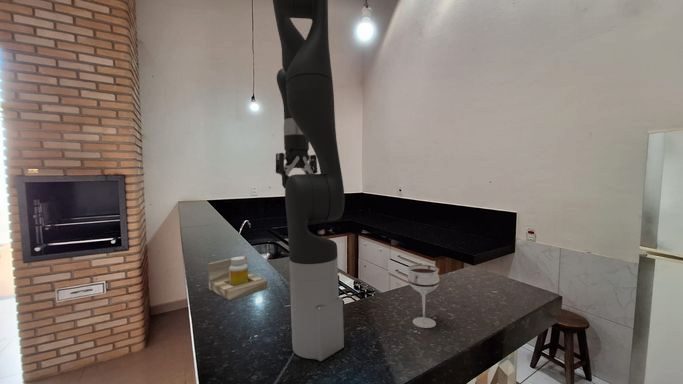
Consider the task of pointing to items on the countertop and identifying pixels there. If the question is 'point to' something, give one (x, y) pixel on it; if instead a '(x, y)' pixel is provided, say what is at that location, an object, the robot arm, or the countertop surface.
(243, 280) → the supplement bottle
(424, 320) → the wineglass
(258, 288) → the socket stand
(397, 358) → the countertop surface
